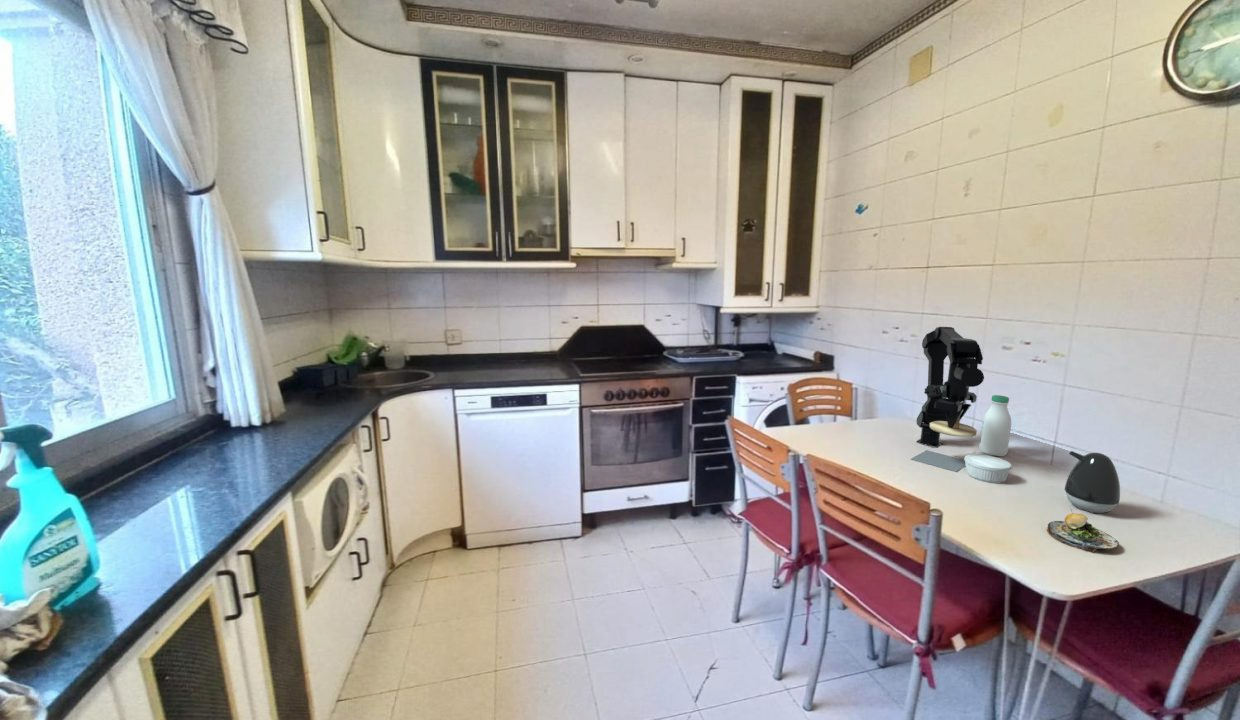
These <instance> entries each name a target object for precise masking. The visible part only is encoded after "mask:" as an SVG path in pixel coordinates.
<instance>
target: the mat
mask: <svg viewBox="0 0 1240 720" xmlns="http://www.w3.org/2000/svg"><path fill="white" fill-rule="evenodd" d="M910 460H912V461H915V462H919V463H922V464H926V465H929V466H932V467H937V468H940V469H943V470H947V471H951V472H954V473H958V472H959V471H960V470H961V469H963V468H966V465H965V460H964V458H960V457H956V456H955V457H954V456H952V455H947V454H943V453H940V452H937V451H936V452H935V451H932V450H928V449H927V450H924V451H922V452H920V453H919V454H916V455H914V456H913V457H912V458H910Z"/></svg>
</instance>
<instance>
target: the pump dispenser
mask: <svg viewBox="0 0 1240 720" xmlns="http://www.w3.org/2000/svg"><path fill="white" fill-rule="evenodd" d="M1069 455H1070V456H1072V457H1074V458H1075V459H1077V460H1078V462H1076V463H1075V464H1074V466H1073V467H1072V469H1071V470H1070V472H1069V474H1068V476H1067V479H1066V481H1065V485H1064V491H1065V494H1066V498H1067V500H1068V501H1069V502H1070V503H1071V505H1073V506H1075V507H1076V508H1078V509H1079V510H1081V511H1082V510H1083V511H1085V512H1090V513H1096V514H1103V513H1108V512H1110V511H1112V510H1113V509H1115V507H1116V505H1118V504H1119V503H1120V502H1121V501H1120V500H1121V485H1120V478H1119V475H1118V471H1117V469H1116V466H1115V464H1114V462H1113V461H1112V459H1111V458H1110V457H1109V456H1107V455H1105V454H1104V453H1101V452H1089V453H1087V454H1085V455H1082V454H1080V453H1078V452H1075V451H1074V450H1071V451H1070V452H1069Z"/></svg>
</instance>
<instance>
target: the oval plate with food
mask: <svg viewBox="0 0 1240 720" xmlns="http://www.w3.org/2000/svg"><path fill="white" fill-rule="evenodd" d="M1069 508H1070V511H1071V513H1069V514H1067V515H1066V516H1065V517H1064V520H1053V521H1050V522H1048V524H1047V529H1046V531H1047V534H1048V535H1049V536H1050V537H1052V538H1053V539H1055V540H1056V541H1058V542H1060V543H1061V544H1064V545H1066V546H1069V547H1070V548H1075V549H1078V550H1081V551H1086V552H1087V553H1094V552H1095V551H1097V550H1107V551H1108V550H1110V549H1116V548H1117V547H1118V546H1119V544H1120V543H1119V541H1118V540H1117V539H1116V538H1114V537H1113V536H1111V534H1108V533H1106V532H1104V531H1103V530H1100V529H1098V528H1096V527H1093V524H1091V523H1089V522H1088V520H1089V519H1088V517H1087V516H1086V515H1084V514H1081V513H1078V512H1077V513H1073V510H1072V508H1071V507H1069Z"/></svg>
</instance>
